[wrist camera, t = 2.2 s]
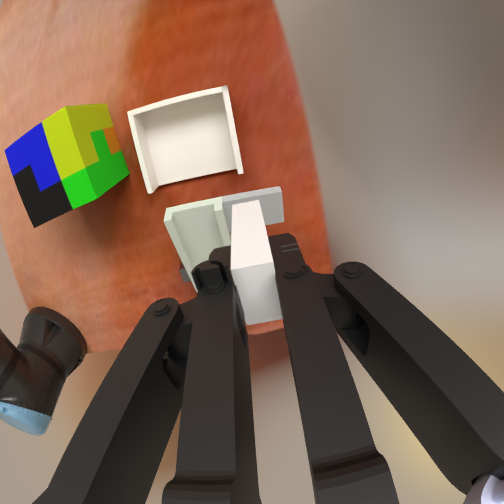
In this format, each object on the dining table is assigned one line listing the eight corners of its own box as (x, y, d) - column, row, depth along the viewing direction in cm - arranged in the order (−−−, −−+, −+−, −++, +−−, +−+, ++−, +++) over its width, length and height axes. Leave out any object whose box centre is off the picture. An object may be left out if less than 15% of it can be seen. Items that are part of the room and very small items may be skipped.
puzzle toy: (50, 135, 28) (4, 150, 20) (106, 103, 28) (65, 106, 19) (72, 198, 33) (34, 228, 25) (129, 173, 33) (97, 198, 24)
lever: (288, 297, 43) (292, 312, 41) (211, 310, 43) (212, 325, 41) (279, 186, 28) (285, 202, 26) (166, 208, 29) (162, 225, 27)
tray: (155, 185, 34) (148, 194, 31) (137, 111, 29) (127, 111, 26) (242, 166, 33) (243, 173, 30) (227, 88, 29) (227, 85, 25)
